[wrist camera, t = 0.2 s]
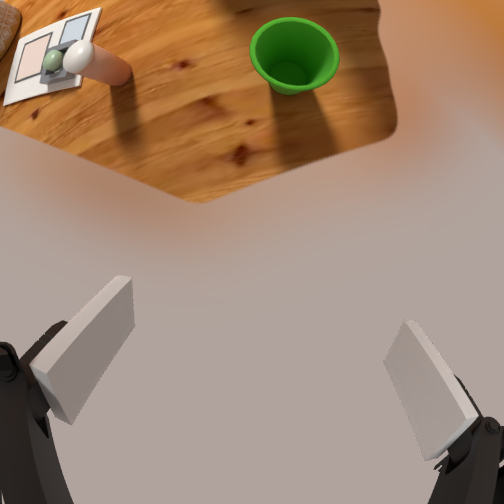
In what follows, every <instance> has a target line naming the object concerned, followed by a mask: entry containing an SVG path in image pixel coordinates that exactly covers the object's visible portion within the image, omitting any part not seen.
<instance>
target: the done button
mask: <svg viewBox="0 0 504 504" xmlns="http://www.w3.org/2000/svg"><path fill="white" fill-rule="evenodd" d="M64 56H65V54H64V53H62V52H60V51H57V50H51V51H50V52H49V53H48V54H47V55H46V56H45V58H44V60H43V68H44V69H46V70H50V71H58V70H59V69H60V68H61V67H62V66H63V59H64Z"/></svg>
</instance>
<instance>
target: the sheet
mask: <svg viewBox="0 0 504 504" xmlns="http://www.w3.org/2000/svg"><path fill="white" fill-rule="evenodd" d="M101 11H102V8H101V7H100V8H96V9H93V10H90V11H86V12H83V13H80V14H77V15H74V16H72V17H69V18H66V19H64V20H61V21H58V22H56V23H54V24H51V25H49V26H46V27H44V28H42V29H40V30H38V31H35V32H33V33H31V34H29V35H27V36H25V37H23V38H21V39H19V42H18V45H17V49H16V52H15V55H14V59H13V62H12V66H11V70H10V74H9V78H8V83H7V88H6V93H5V98H4V104H3V106H6V105H9V104H12V103H15V102H18V101H21V100H24V99H27V98H31V97H34V96H38V95H42V94H46V93H50V92H54V91H58V90H63V89H67V88H72V87H77V86H81V83H82V78H83V76H80V75H77V74H75V77H74V79H69V80H65V81H61V82H57V83H53V84H49V85H45V84H40V83H39V82H40V78H41V73H42V69H43V60H44V58H45V56H46V54H47V50H48V48H51V47H53V46H56V45H59V44H62V43H65V42H68V41H71V40H75V39H76V40H78V41H79V40H87V41H89V42H92V38H93V35H94V32H95V28H96V25H97V22H98V19H99V17H100V14H101ZM64 54H66V53H64ZM62 70H63V66H62V67H61V68H60V69H59V70H58V71H54V73H56V72H60V71H62Z"/></svg>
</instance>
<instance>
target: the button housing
mask: <svg viewBox="0 0 504 504" xmlns="http://www.w3.org/2000/svg"><path fill="white" fill-rule="evenodd" d="M77 41H78V40H76V39H75V40H71V41H68V42H65V43H62V44H59V45H56V46H53V47H51V48H48V50H47V54H48V53H49V52H50V51H51V50H57V51H60V52H62V53H66V52H67V50H68V49H69V48H70V47H71V45H73V44H74V43H75V42H77ZM47 54H46V55H47ZM74 77H75V74H74V73H71V72H67V71H66V70H65V69H64V68H63V70H62V71H60V72H56V73H54V71H50V70H46V69H44V68H43V69H42V73H41V78H40V82H39V83H40V84H45V85H49V84H53V83H57V82H61V81H65V80H69V79H74Z"/></svg>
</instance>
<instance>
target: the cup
mask: <svg viewBox="0 0 504 504" xmlns="http://www.w3.org/2000/svg"><path fill="white" fill-rule="evenodd" d="M250 58H251V61H252V64H253V66H254V68H255V69H256V71H257V72H258V73H259V74H260V75H261V76H262V77H263V78H264V79H265V80H266V81H268V83H269V84H270V86H271V87H272V88H273V89H274V90H275V91H276V92H278V93H280V94H283V95H295V94H298V93H300V92H302V91H308V90H312V89H315V88H318V87H320V86H322V85H324V84H326V83H327V82H328V81H329V80H330V79H331V78H332V77H333V76H334V74H335V73H336V71H337V69H338V65H339V61H340V59H339V50H338V48H337V45H336V42H335V41H334V39H333V38H332V37H331V35H330V34H329V33H328V32H327V31H326V30H325V29H324V28H322V27H321V26H319V25H318V24H316V23H314V22H312V21H309V20H306V19H302V18H296V17H285V18H280V19H275V20H273V21H270V22H268V23H266V24H264V25H263V26H262V27H261V28H260V29H259V30H257V32H256V33H255V35H254V36H253V38H252V41H251V44H250Z"/></svg>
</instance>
